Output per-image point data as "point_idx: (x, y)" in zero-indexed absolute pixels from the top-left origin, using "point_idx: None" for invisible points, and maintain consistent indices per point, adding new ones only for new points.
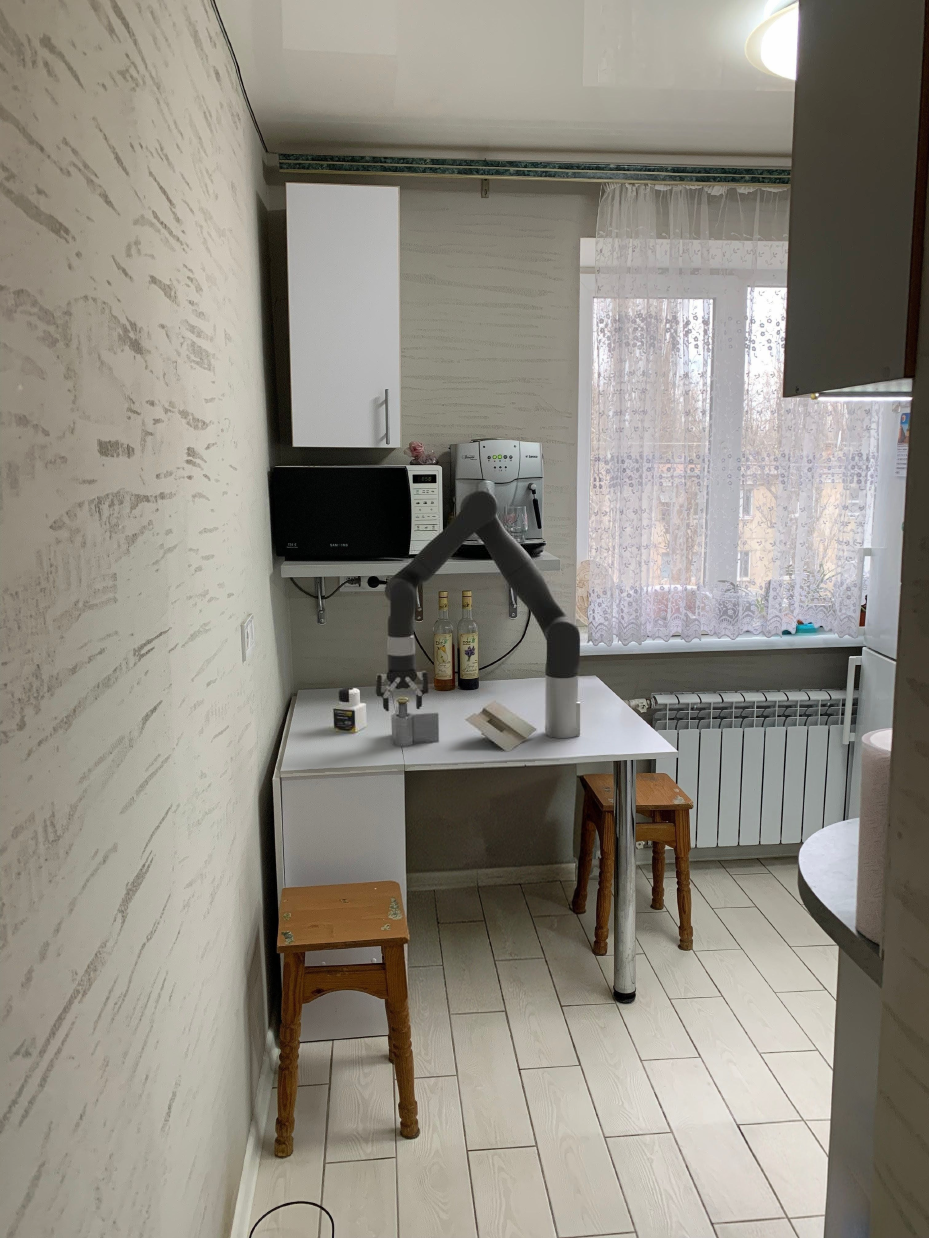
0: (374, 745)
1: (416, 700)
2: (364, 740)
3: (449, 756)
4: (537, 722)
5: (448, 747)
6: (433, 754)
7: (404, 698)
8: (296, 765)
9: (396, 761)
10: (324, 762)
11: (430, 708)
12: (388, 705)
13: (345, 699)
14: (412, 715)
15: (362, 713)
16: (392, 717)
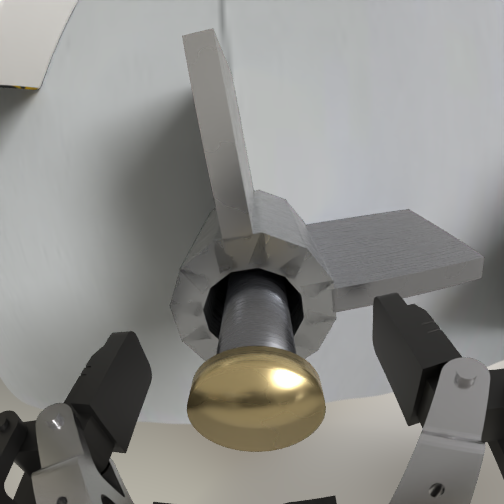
0: (133, 260)
1: (397, 360)
2: (82, 188)
3: None
4: None
5: (424, 300)
6: (360, 367)
7: (277, 421)
8: (17, 387)
9: None
10: (54, 387)
11: None
12: (139, 406)
13: None
14: (325, 321)
15: (25, 11)
16: (185, 340)
